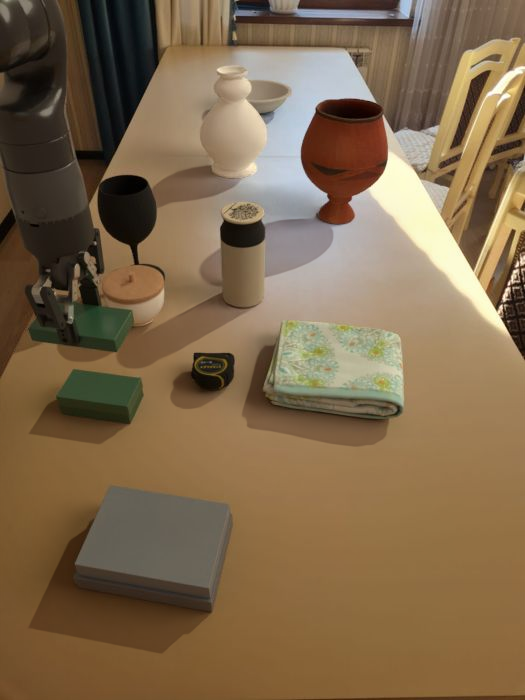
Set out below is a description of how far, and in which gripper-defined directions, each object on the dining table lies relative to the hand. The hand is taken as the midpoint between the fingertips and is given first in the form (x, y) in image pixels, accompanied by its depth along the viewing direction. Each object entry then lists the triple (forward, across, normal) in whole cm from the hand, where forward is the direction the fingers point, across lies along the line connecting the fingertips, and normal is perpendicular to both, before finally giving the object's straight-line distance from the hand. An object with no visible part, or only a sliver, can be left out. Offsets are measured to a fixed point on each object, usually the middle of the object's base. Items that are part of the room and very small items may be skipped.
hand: (82, 326), depth 67 cm
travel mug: (+19, -36, +13) cm, 43 cm away
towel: (+19, -17, +32) cm, 41 cm away
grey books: (+19, +18, +14) cm, 29 cm away
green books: (+19, -4, -3) cm, 20 cm away
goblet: (+19, -72, +28) cm, 80 cm away
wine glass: (+19, -38, -9) cm, 43 cm away
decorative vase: (+19, -94, -2) cm, 96 cm away
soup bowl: (+19, -142, -4) cm, 144 cm away
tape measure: (+19, -13, +12) cm, 26 cm away
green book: (+1, 0, 0) cm, 1 cm away
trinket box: (+19, -26, -5) cm, 33 cm away
